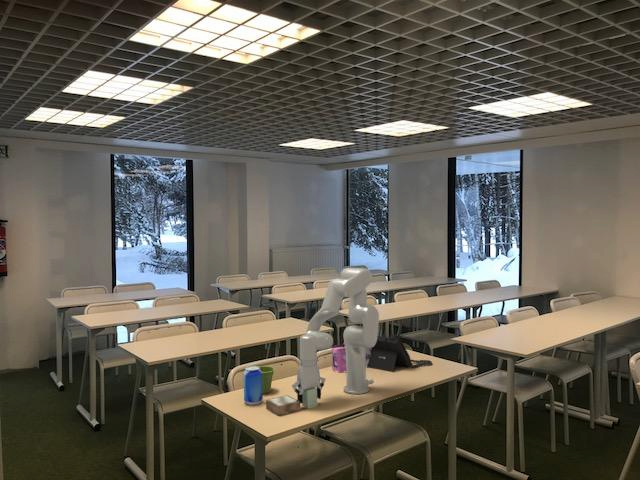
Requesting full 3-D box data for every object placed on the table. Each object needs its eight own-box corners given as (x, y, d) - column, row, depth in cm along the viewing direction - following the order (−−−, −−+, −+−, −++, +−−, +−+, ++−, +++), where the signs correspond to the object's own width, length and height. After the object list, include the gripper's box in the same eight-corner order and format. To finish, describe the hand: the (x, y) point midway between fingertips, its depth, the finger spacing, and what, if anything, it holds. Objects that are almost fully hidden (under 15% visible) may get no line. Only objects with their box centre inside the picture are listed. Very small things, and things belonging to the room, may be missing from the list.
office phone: (434, 363, 295) (434, 329, 295) (408, 375, 274) (408, 337, 273) (391, 356, 315) (391, 323, 314) (364, 365, 293) (363, 330, 293)
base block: (287, 403, 234) (287, 394, 234) (300, 410, 225) (300, 401, 225) (266, 408, 228) (266, 399, 228) (278, 416, 219) (278, 406, 219)
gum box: (338, 373, 280) (337, 349, 280) (329, 370, 287) (329, 346, 287) (371, 366, 294) (371, 342, 293) (363, 363, 300) (362, 340, 300)
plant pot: (261, 397, 244) (261, 373, 244) (246, 392, 252) (245, 369, 252) (280, 391, 252) (279, 368, 252) (264, 386, 261) (264, 364, 260)
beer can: (247, 406, 231) (246, 371, 231) (242, 401, 239) (241, 367, 239) (264, 403, 235) (263, 369, 234) (259, 398, 242) (258, 364, 242)
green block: (311, 403, 234) (310, 385, 234) (317, 406, 230) (316, 388, 230) (302, 405, 231) (301, 387, 231) (308, 408, 227) (307, 390, 227)
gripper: (319, 357, 238) (320, 394, 238) (287, 364, 228) (288, 402, 229) (329, 361, 232) (329, 398, 232) (296, 367, 222) (297, 406, 222)
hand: (309, 400), depth 230 cm, fingers open, 9 cm apart
